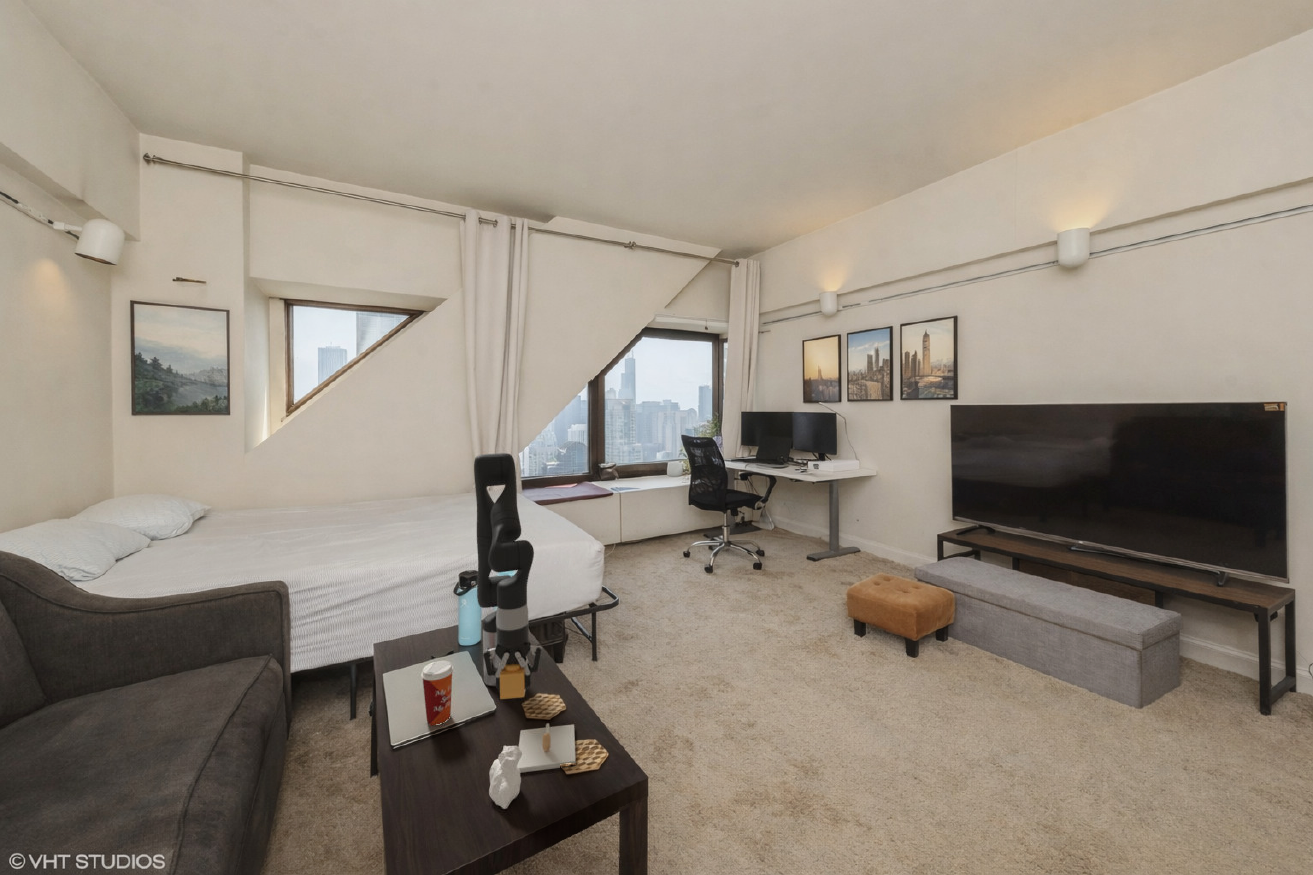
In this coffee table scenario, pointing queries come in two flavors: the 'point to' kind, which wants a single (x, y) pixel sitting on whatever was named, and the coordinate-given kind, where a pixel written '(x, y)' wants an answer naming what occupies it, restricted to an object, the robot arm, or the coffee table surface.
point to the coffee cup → (437, 691)
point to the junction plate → (554, 752)
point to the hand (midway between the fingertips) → (513, 688)
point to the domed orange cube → (512, 681)
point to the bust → (505, 776)
